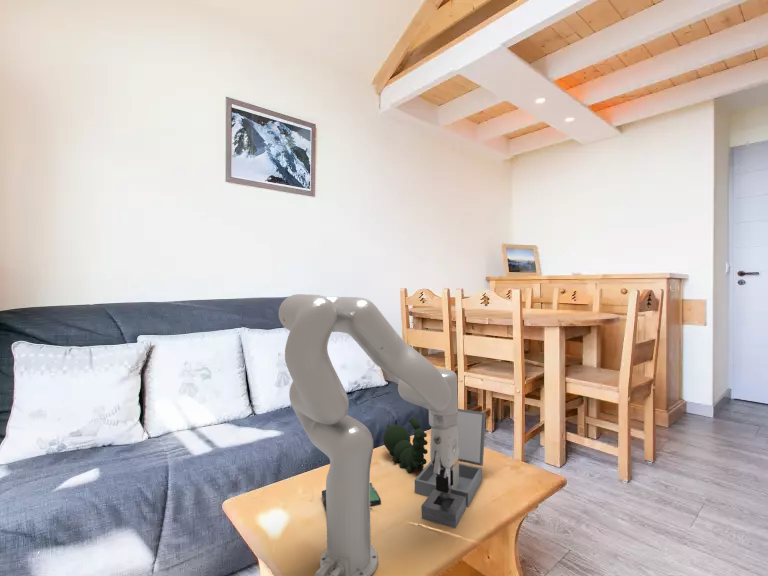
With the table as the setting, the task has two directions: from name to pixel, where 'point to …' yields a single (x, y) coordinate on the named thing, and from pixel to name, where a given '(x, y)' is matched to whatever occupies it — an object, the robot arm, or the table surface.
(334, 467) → the robot arm
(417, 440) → the toy figurine
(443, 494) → the rod
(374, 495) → the disk drive
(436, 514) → the socket block
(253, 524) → the table surface
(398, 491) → the table surface
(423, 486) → the case
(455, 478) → the block
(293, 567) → the table surface
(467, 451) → the lid
